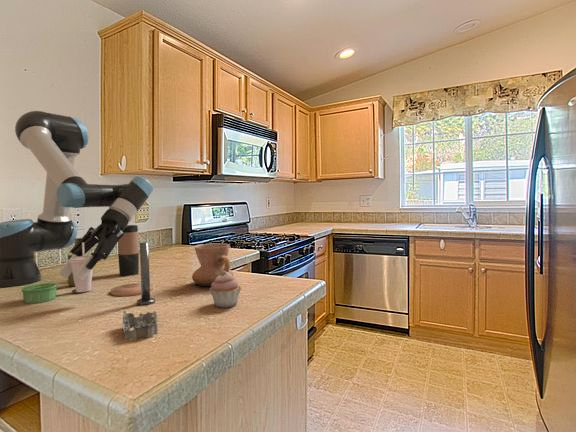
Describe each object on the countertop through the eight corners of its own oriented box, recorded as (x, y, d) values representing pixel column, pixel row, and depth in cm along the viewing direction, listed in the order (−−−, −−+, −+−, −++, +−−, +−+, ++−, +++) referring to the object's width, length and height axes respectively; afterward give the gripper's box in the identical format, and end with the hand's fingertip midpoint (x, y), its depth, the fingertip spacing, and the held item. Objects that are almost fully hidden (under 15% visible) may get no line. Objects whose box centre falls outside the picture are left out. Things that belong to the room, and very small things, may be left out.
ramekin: (54, 294, 113) (53, 281, 113) (60, 300, 107) (60, 286, 107) (19, 300, 107) (19, 286, 107) (24, 306, 101) (23, 291, 101)
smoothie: (101, 288, 103) (99, 241, 102) (81, 294, 97) (79, 244, 96) (85, 286, 105) (82, 240, 104) (65, 292, 99) (62, 243, 98)
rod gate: (68, 292, 115) (66, 239, 114) (83, 289, 119) (81, 237, 118) (145, 306, 100) (143, 244, 99) (158, 301, 104) (156, 242, 103)
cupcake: (206, 302, 103) (205, 269, 102) (237, 298, 106) (236, 266, 106) (212, 311, 94) (211, 275, 94) (245, 307, 98) (245, 272, 97)
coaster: (102, 293, 114) (101, 290, 113) (134, 284, 125) (134, 281, 125) (130, 298, 108) (129, 294, 108) (161, 288, 120) (161, 285, 120)
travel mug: (142, 272, 146) (141, 225, 145) (133, 276, 138) (131, 226, 137) (125, 272, 147) (124, 225, 146) (115, 276, 139) (113, 226, 138)
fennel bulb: (70, 288, 121) (68, 254, 120) (64, 286, 124) (63, 253, 123) (87, 284, 125) (86, 252, 125) (82, 283, 128) (80, 250, 128)
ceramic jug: (183, 283, 126) (182, 244, 125) (217, 277, 136) (217, 241, 135) (208, 293, 113) (207, 250, 112) (245, 285, 123) (244, 245, 122)
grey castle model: (123, 327, 84) (122, 310, 84) (156, 322, 88) (155, 306, 87) (122, 343, 75) (121, 324, 75) (159, 337, 78) (158, 319, 78)
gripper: (147, 224, 110) (102, 287, 96) (106, 222, 118) (59, 280, 104) (132, 207, 104) (83, 272, 91) (90, 207, 113) (39, 266, 99)
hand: (70, 276), depth 97 cm, fingers closed on smoothie, 6 cm apart
